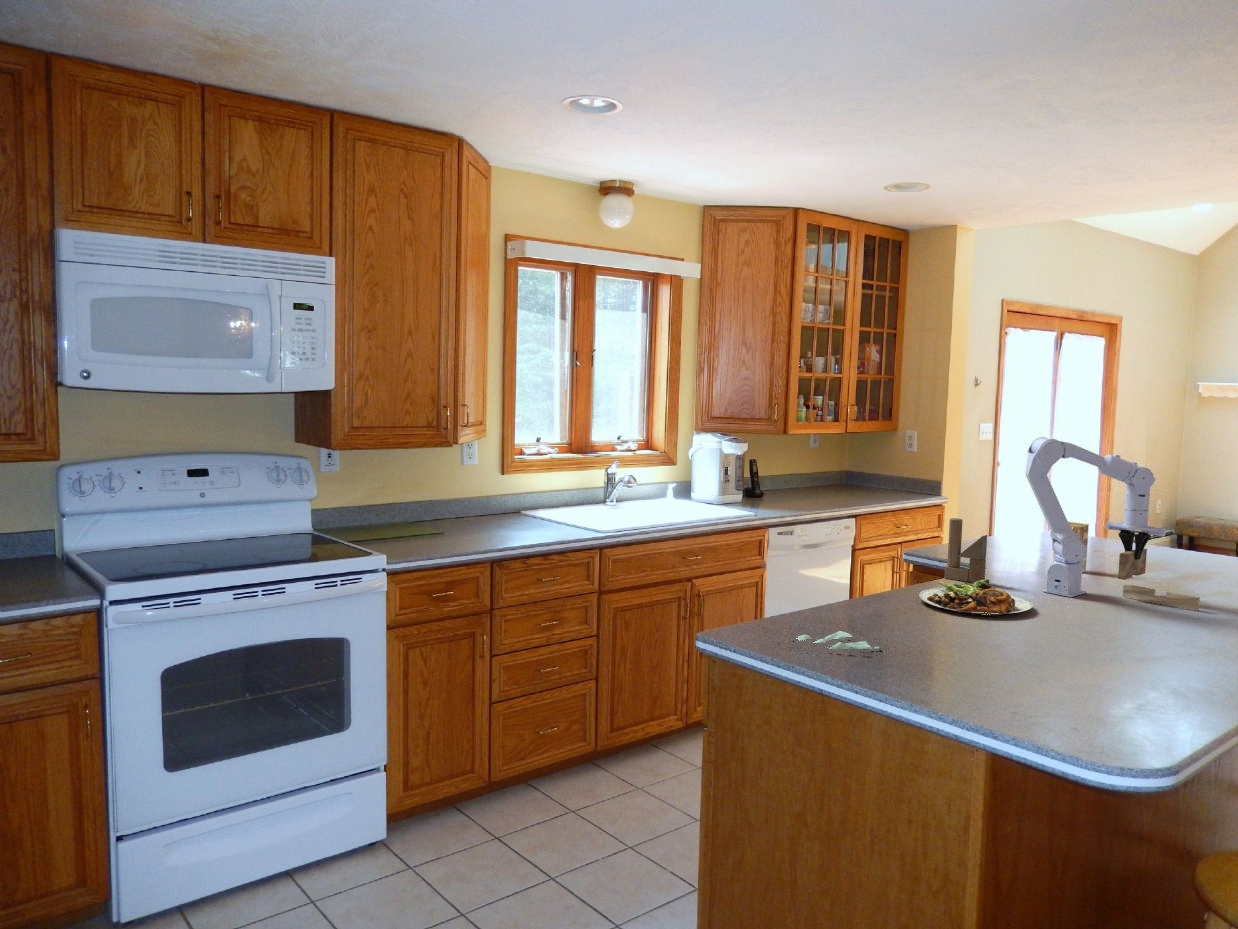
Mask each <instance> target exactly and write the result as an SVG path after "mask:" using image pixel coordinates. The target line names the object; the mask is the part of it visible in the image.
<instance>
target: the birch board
mask: <svg viewBox="0 0 1238 929" xmlns="http://www.w3.org/2000/svg"><path fill="white" fill-rule="evenodd" d="M1123 597H1124V599H1128V598H1132V599H1131V600H1134V599H1135V600H1134V601H1139V600H1142V601H1141V602H1144V601H1146V602H1145V603H1150V602H1152V603H1151V604H1155V603H1156V605H1160V604H1162V605H1161V606H1166V605H1167V606H1166V607H1171V606H1174V607H1173V608H1176V607H1177V609H1182V608H1185V609H1184V610H1187V609H1188V611H1192V610H1195V611H1194V612H1198V610H1199V611H1200V602H1201V600H1200V599H1201V598H1200V596H1195V595H1189V594H1184V593H1178V592H1174V591H1166V592H1165V597H1162V596H1157V595H1156V589H1155V588H1149V587H1146V586H1145V587H1144V586H1138V585H1131V584H1127V583H1126V584H1123V588H1122V598H1123Z"/></svg>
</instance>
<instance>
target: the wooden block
mask: <svg viewBox="0 0 1238 929" xmlns="http://www.w3.org/2000/svg"><path fill="white" fill-rule="evenodd" d="M948 527H949V528H948V543H947V544H948V546H947V565H946V566H945V567H944V579H949V580H952V581H953V580H954V581H959V580H960V582H965V583H969V584H973V583H975V582H976V581H979V580H985V578H986V563H987V545H988V535H987V534H985V535H982V536H980V537H979V538H978V539H977V540H976V541H974V542H972V544H971V545H969V546H968V547H967V548H965V549H964V550H963V551H962V541H963V540H962V539H963V538H962V536H963V535H962V534H963V519H962V518H959V517H958V518H957V517H953V518H952V517H951V518H949V525H948ZM961 558H965V559H969V562H968V565H969V566H968V567H966V566H961ZM985 581H986V580H985Z"/></svg>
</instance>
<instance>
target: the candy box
mask: <svg viewBox="0 0 1238 929" xmlns="http://www.w3.org/2000/svg"><path fill="white" fill-rule="evenodd" d="M1067 521H1068V520H1067ZM1068 523H1069V525H1070V527H1071V528H1072V530H1073V531H1074V532H1075V534H1076V535H1077V538H1078V539H1079V540H1080V541H1081V542H1082V543H1083V544H1084V545H1085V546H1086V550H1087V552H1086V556H1085V557H1084V559H1083V562H1082V563H1083V564H1082V574H1083V573H1085V572H1087V560H1088V559H1087V558H1088V543H1089V541H1088V540H1089V527H1090V523H1084V522H1077V521H1068ZM1055 555H1056V554H1055V553H1054V551H1053V554H1052V564H1053V563H1054V556H1055Z"/></svg>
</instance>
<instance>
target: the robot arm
mask: <svg viewBox="0 0 1238 929" xmlns="http://www.w3.org/2000/svg"><path fill="white" fill-rule="evenodd" d="M1026 452H1027V459H1026V465H1025V471H1024V473H1025V477H1026V479H1027V481H1028V483H1029V485H1030V487H1031V490H1032V492H1033V494H1034V497H1035V498H1036V501H1037V503H1038V506H1039V508H1040V510H1041V513H1042V514H1043V516H1044V519H1045V521H1046V524H1047V526H1048V527H1049V530H1050V538H1051V543H1052V544H1051V547H1052V551H1053V552H1054V553H1055V554H1056V555H1055V556H1054V563H1053V562H1052V564H1051V565H1050V566H1049V567H1048V569H1047V575H1046V576H1047V577H1046V588H1045V589H1043V590H1042V592H1044V593H1047V594H1054V595H1059V596H1064V597H1069V598H1073V597H1076V596H1079V595H1084V594H1087V593H1088V591H1087V590H1084V589H1082V578H1083V577H1082V576H1083V573H1082V564H1083V563H1082V562H1083V559H1084V557H1085V556H1086V552H1087V553H1088V549H1087V550H1086V546H1085V545H1084V544H1083V543H1082V542H1081V541H1080V540H1079V539H1078V538H1077V535H1076V534H1075V532H1074V531H1073V530H1072V528H1071V527H1070V525H1069V523H1068V519H1067V516H1066V514H1065V512H1064V510H1063V507H1062V505H1061V503H1060V500H1059V499H1058V497H1057V494H1056V492H1055V490H1054V488H1053V485H1052V484H1051V481H1050V479H1049V477H1048V473H1050V470H1051V469H1052V467H1053V466H1054V465H1055V464H1056V463H1057V462H1058V461H1059V460H1060V459H1070V458H1072V459H1075V460H1078V461H1081V462H1083V463H1086V464H1089V465H1092V466H1095V467H1097V469H1098V471H1099V473H1100V474H1101V475H1104V476H1106V477H1109V478H1112V479H1113V480H1117V481H1119V482H1122V483H1124V484H1126V485H1125V486H1126V487H1125V501H1124V510H1123V511H1124V512H1123V513H1124V514H1123V523H1122V522H1113V521H1112V522H1111V521H1107V522H1106V523H1105V530H1108V531H1110V530H1112V531H1119V532H1118V537H1119V539H1120V541H1121V543H1122V545H1123V549H1124V552H1127V551H1131V550H1135V560H1139V559H1140V558H1141V554H1142V552H1143V549H1145V547H1146V545H1147V543H1148V542H1149V540H1150V539H1151V538H1152V536H1158V537H1165V536H1166V532H1167V531H1166V530H1167V529H1166V528H1161V527H1155V526H1149V524H1148V523H1149V510H1150V496H1151V493H1150V491H1151V487H1152V486H1153V485H1155V484H1154V483H1155V481H1156V477H1155V476H1154V473H1153V472H1152V470H1151V469H1149V467H1148V468H1147V467H1144V466H1140V465H1138V462H1135V461H1128V460H1126V459H1122V458H1121V455H1119V454H1115V453H1114V454H1107V455H1104V456H1103V455H1101V454H1097V453H1095V452H1093V451H1090V450H1088V449H1085V448H1083V447H1081V446H1078V445H1076V444H1074V443H1071V442H1066V441H1062V440H1058V439H1057V438H1056V439H1054V438H1048V437H1045V436H1040V437H1037V438H1035V439H1034V440H1033V441H1031V443H1030V445H1029V447H1028V448H1027V450H1026ZM1134 543H1135V544H1134ZM1133 544H1134V545H1133ZM1133 546H1134V547H1135V548H1134V549H1133Z"/></svg>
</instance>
